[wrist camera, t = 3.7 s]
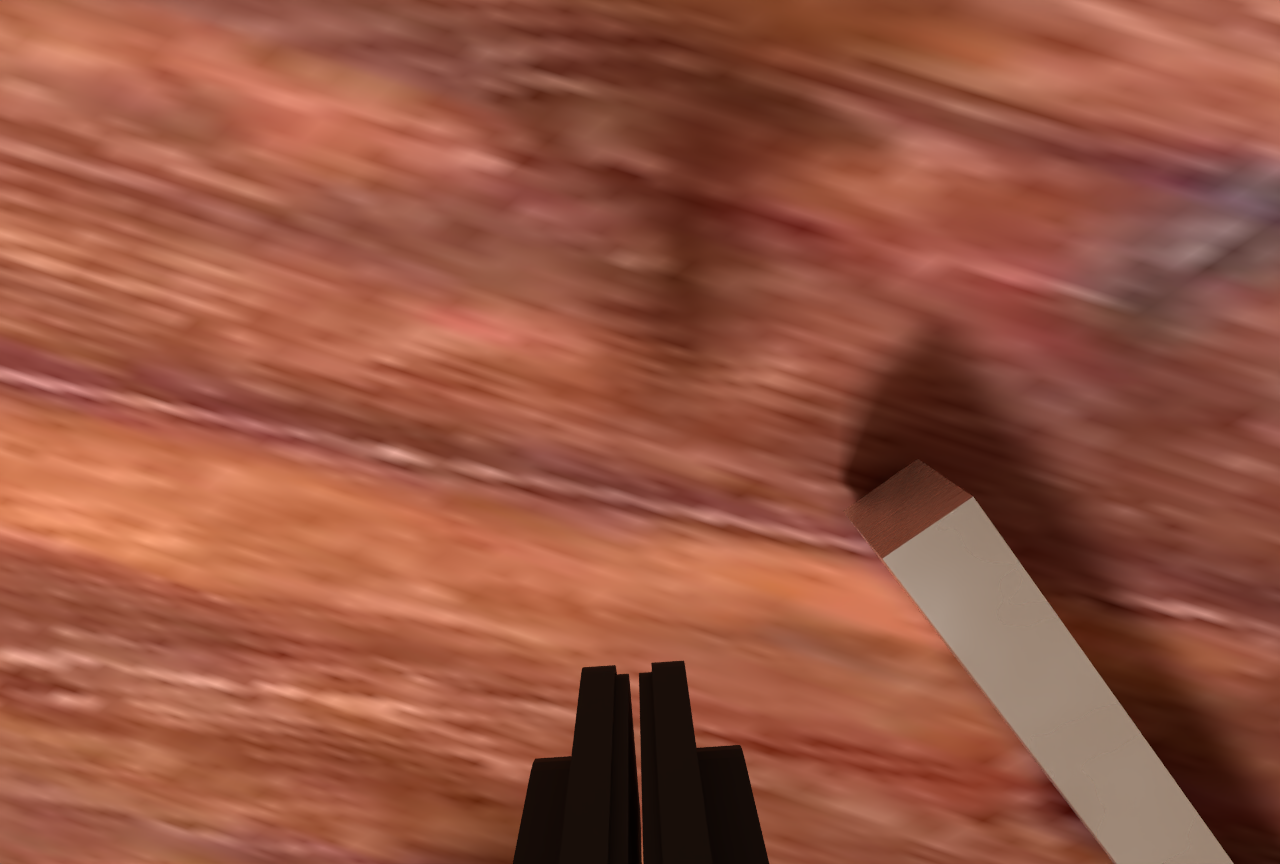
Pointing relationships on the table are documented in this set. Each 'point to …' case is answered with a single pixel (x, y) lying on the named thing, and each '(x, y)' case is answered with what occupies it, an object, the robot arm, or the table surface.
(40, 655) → the table surface
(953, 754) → the table surface
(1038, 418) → the table surface
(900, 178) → the table surface
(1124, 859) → the tongs jaw
